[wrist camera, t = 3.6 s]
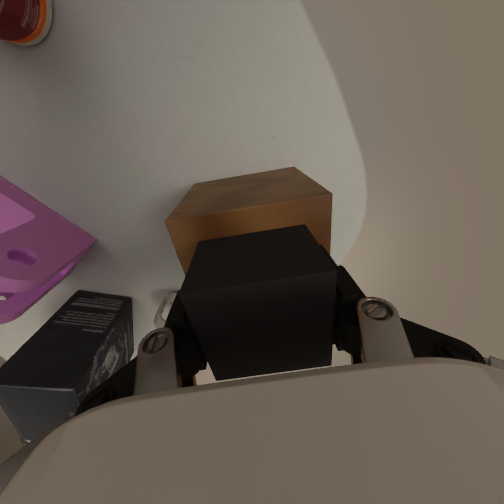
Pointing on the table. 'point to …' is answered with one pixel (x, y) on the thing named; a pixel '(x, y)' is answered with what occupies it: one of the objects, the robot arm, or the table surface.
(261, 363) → the pad
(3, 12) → the pill bottle
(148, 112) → the table surface
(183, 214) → the wooden block
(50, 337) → the box
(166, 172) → the table surface
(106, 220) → the table surface
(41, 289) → the bracket
